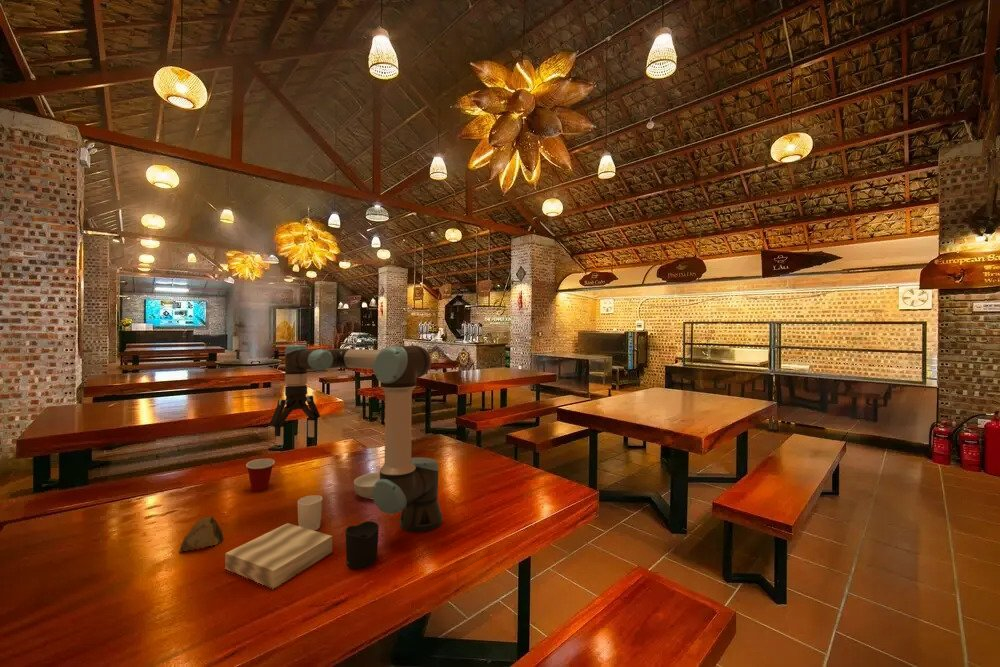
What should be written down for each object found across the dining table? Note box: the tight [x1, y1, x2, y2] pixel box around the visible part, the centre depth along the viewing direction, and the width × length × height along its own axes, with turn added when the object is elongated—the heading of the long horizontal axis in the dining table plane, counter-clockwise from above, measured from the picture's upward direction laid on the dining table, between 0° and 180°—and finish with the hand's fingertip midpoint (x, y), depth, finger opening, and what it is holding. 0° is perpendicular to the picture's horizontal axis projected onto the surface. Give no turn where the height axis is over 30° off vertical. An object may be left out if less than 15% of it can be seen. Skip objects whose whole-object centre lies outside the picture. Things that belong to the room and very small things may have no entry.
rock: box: [179, 516, 225, 553], centre depth 126 cm, size 11×9×10 cm
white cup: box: [297, 494, 323, 531], centre depth 138 cm, size 8×8×10 cm
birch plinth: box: [224, 522, 333, 590], centre depth 118 cm, size 20×20×5 cm
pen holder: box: [345, 520, 380, 570], centre depth 119 cm, size 9×9×10 cm
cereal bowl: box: [353, 471, 380, 499], centre depth 167 cm, size 17×17×7 cm
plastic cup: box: [245, 458, 276, 493], centre depth 171 cm, size 11×11×12 cm
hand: (296, 440), depth 151 cm, fingers open, 13 cm apart
